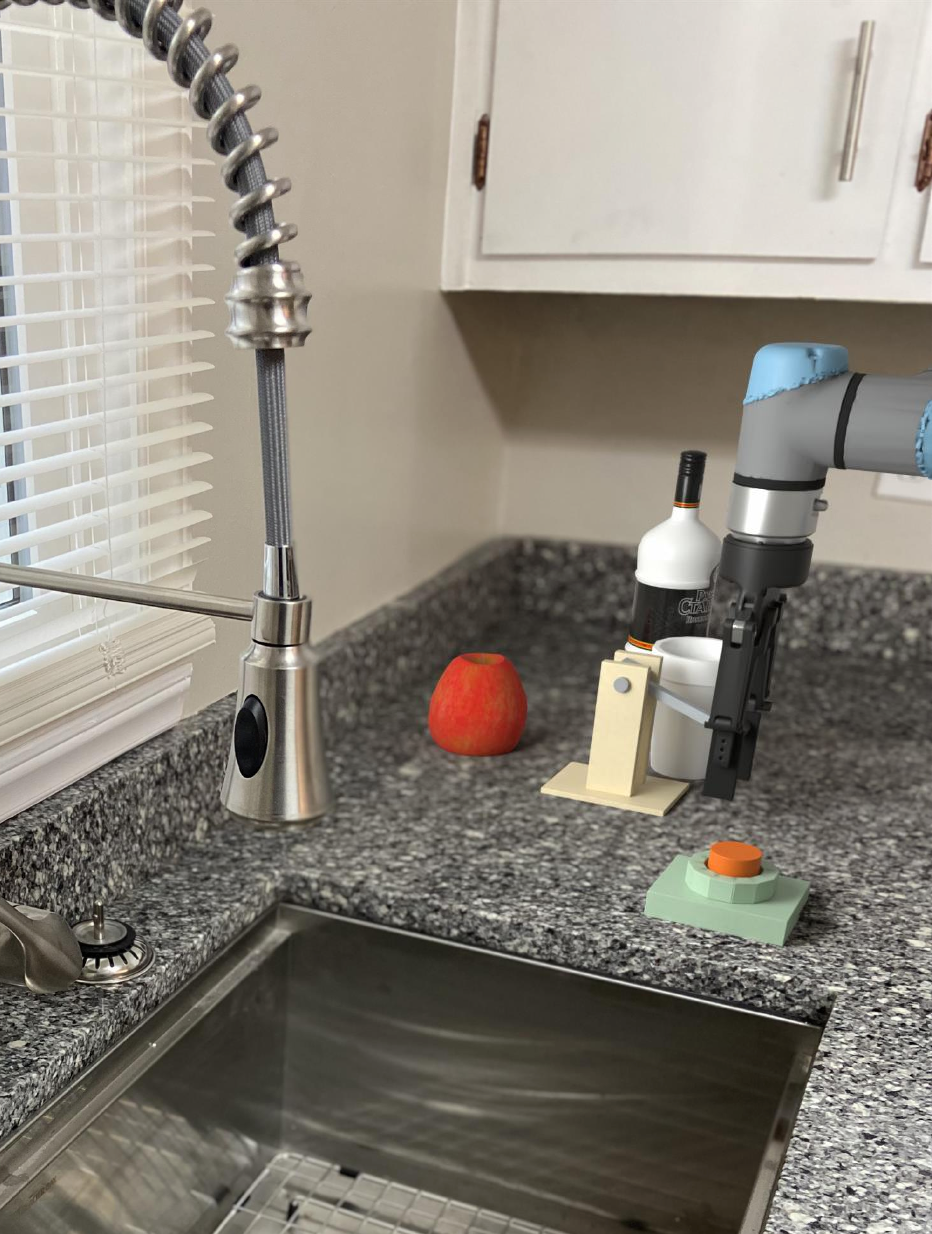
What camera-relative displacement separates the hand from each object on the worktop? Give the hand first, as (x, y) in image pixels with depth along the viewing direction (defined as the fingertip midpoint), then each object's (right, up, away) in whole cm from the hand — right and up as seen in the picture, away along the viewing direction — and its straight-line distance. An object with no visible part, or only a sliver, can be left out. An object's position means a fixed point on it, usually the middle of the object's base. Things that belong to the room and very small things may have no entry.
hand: (726, 786), depth 139 cm
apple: (-20, +6, +19) cm, 28 cm away
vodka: (0, +8, +22) cm, 24 cm away
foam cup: (0, +2, +12) cm, 12 cm away
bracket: (-9, 0, +6) cm, 11 cm away
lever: (-5, +7, 0) cm, 8 cm away
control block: (-6, -12, -17) cm, 22 cm away
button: (-6, -9, -19) cm, 22 cm away
